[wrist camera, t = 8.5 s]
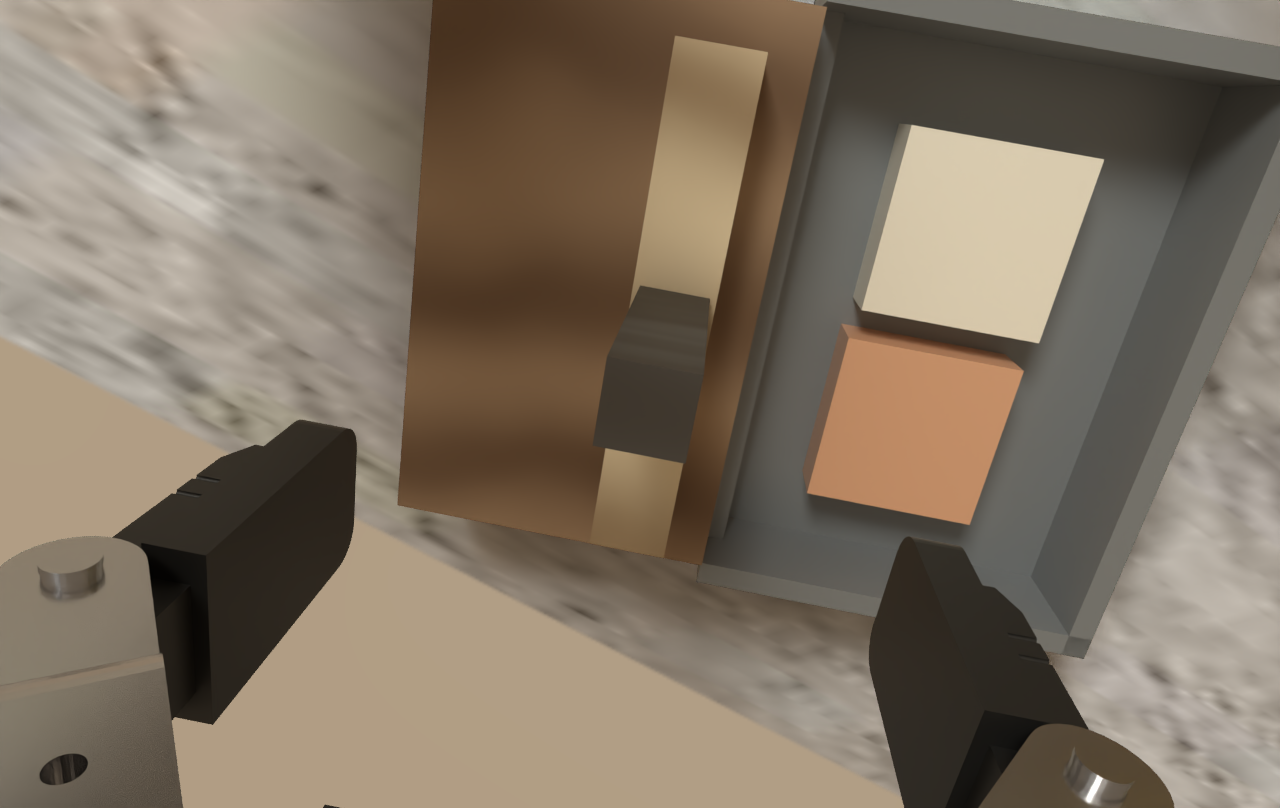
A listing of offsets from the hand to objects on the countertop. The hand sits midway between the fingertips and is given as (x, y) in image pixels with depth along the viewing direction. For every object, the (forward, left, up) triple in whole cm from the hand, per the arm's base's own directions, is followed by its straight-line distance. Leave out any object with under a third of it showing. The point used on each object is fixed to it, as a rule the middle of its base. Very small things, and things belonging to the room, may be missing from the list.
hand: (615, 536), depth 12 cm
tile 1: (+4, +9, -17) cm, 20 cm away
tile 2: (-3, +9, -17) cm, 20 cm away
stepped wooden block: (0, -3, -20) cm, 20 cm away
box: (0, +10, -20) cm, 22 cm away
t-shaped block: (0, 0, -15) cm, 15 cm away
